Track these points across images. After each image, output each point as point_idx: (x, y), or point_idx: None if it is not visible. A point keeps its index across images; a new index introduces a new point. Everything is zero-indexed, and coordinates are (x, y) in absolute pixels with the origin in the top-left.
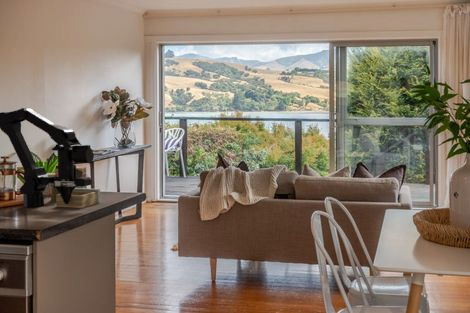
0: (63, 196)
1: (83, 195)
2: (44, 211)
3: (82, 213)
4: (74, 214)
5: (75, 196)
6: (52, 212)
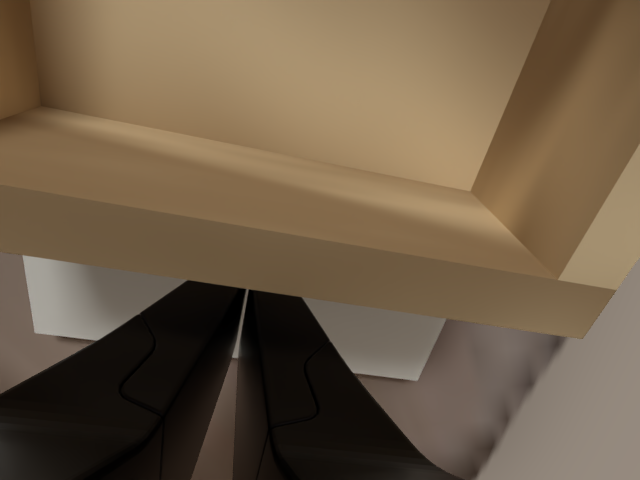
0: (204, 431)
1: (627, 255)
2: (14, 297)
3: (493, 357)
4: (423, 398)
5: (424, 305)
6: None
